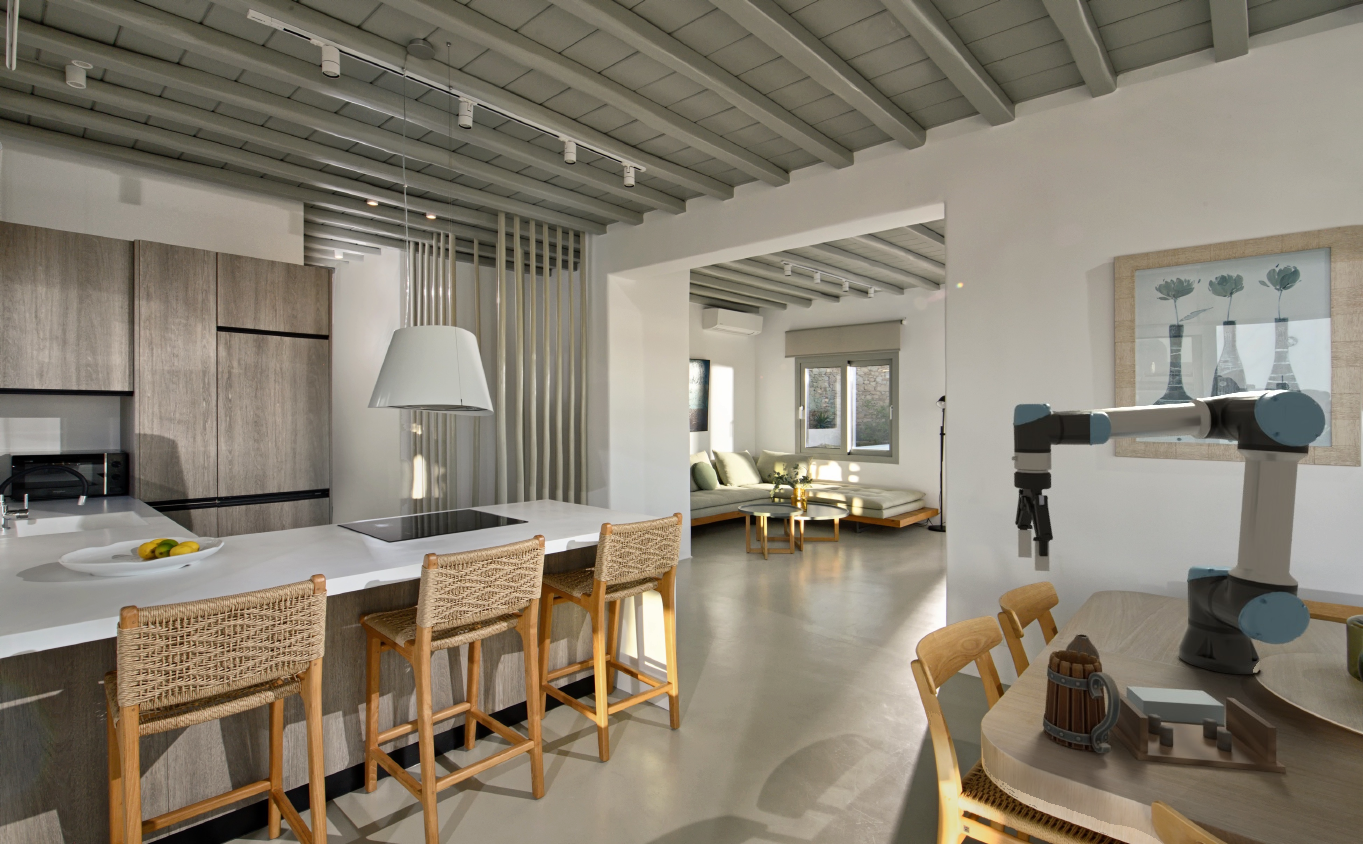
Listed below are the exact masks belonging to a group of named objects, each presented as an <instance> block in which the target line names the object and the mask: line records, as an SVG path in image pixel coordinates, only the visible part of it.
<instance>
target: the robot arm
mask: <svg viewBox="0 0 1363 844" xmlns="http://www.w3.org/2000/svg"><path fill="white" fill-rule="evenodd" d="M1051 407H1052V406H1051V405H1050V404H1049V403H1020V404H1017V405H1015V407H1014V412H1013V423H1012V426H1013V448H1014V449H1013V450H1014V453H1013V454H1014V455H1013V456H1011V460H1012V461H1013V463H1014V464H1013V465H1014V469H1015V470H1016V471H1014V472H1013V485H1014V487H1015V488H1016V489H1018V500H1017V509H1016V515H1015V521H1014V522H1015V523H1014V524H1015V526H1016V527H1017V529H1018V530H1017V541H1018V542H1017V545H1018V546H1017V547H1018V548H1017V549H1018V550H1017V553H1018V556H1017V557H1018V558H1024V559H1025V558H1028V559H1029V558H1030V559H1031V558H1032V549H1033V548H1032V541H1033V542H1034V571H1041V572H1050V541H1053V540H1054V536H1053V531H1052V530H1053V529H1052V525H1051V524H1052V523H1051V517H1050V516H1051V515H1050V512H1049V511H1050V510H1049V501H1048V500H1049V497H1048V495H1047V494H1046V495H1045V494H1044V495H1043V490H1049V489H1051V488H1052V474H1051V472H1049V471H1051V470H1052V445H1054V446H1058V445H1067V446H1070V445H1071V446H1072V445H1073V446H1076V445H1077V446H1080V445H1081V446H1082V445H1084V446H1093V445H1104V444H1106V443H1107V442H1109V440H1123V439H1124V440H1125V439H1126V440H1127V439H1140V438H1141V439H1144V438H1162V437H1163V438H1164V437H1179V436H1180V437H1181V436H1191V437H1192V438H1194V439H1197V440H1201V439H1202V440H1203V439H1204V440H1206V439H1211V440H1212V439H1214V440H1225V441H1226V440H1228V441H1234V442H1237V446H1236V447H1237V448H1236V451H1238V453H1239V454H1240V455H1242V456H1243V458H1244V461H1245V463H1244V474H1243V486H1242V487H1243V488H1242V499H1241V513H1240V525H1239V537H1238V538H1239V539H1238V549H1237V551H1238V553H1237V565H1235V566H1221V565H1219V566H1218V565H1194V566H1191V567H1189V569H1188V573H1187V579H1186V582H1187V627H1186V630H1185V632H1184V634H1183V637H1182V639H1181V642H1180V643H1179V647H1178V657H1179V658H1180V659H1181V660H1182V661H1183V662H1185V663H1187V664H1190V665H1193V666H1195V667H1198V668H1201V669H1205V670H1208V671H1213V672H1217V673H1225V674H1231V675H1254V674H1253V669H1254V667H1255V666H1256V664H1257V663H1258V662H1259V661H1260V662H1261V660H1260V656H1259V654H1258V652H1257V649H1256V647H1255V644H1254V641H1253V640H1255V641H1260V642H1262V643H1265V644H1269V645H1284V644H1289V643H1291V642H1293V641H1294V640H1296V639H1298V638H1300V637H1302V636H1303V634H1304V633H1305V632H1306V630H1307V629H1308V627H1309V624H1310V621H1311V614H1310V611H1309V608H1308V606H1307V605H1306V604H1305V603H1304V601H1303V600H1302V599H1301V598H1300V597H1298V590H1299V581H1297V579H1296V578H1294V577H1293V576H1292V574H1290V570H1291V558H1292V557H1291V556H1292V541H1293V533H1294V532H1293V531H1294V530H1293V529H1294V519H1295V518H1294V516H1295V504H1296V491H1297V490H1296V489H1297V479H1298V468H1299V467H1298V464H1299V462H1300V461H1301V460H1303V459H1305V458H1306V457H1308V456H1309V450H1310V449H1309V447H1310V444H1311V443H1314V442H1315V441H1316V440H1317V438H1318V437H1321V435H1322V434H1323V432H1324V430H1325V427H1326V416H1325V412H1324V410H1323V408H1322V407H1321V405H1320V404H1319V403H1318V402H1317V401H1316V400H1315V399H1313V397H1311V396H1310V395H1308V394H1306V393H1303V392H1300V391H1295V390H1285V389H1272V390H1259V391H1258V390H1257V391H1241V392H1236V393H1230V394H1223V395H1219V396H1217V395H1216V396H1212V397H1202V398H1193V399H1191V400H1190V401H1188V403H1175V404H1160V405H1146V406H1143V405H1142V406H1125V407H1112V408H1111V407H1110V408H1098V409H1097V408H1096V409H1081V410H1079V409H1078V410H1062V411H1055V410H1053V411H1052V409H1051ZM1032 530H1034V534H1035V536H1033V538H1032Z"/></svg>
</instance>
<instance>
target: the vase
mask: <svg viewBox="0 0 1363 844" xmlns="http://www.w3.org/2000/svg"><path fill="white" fill-rule="evenodd" d="M1065 650H1066V652H1067V653H1068V651H1070V650H1071V651H1077V652H1078V654H1080V653H1081V652H1082V653H1086V654H1088V655H1089V657H1090V656H1094V657H1096V658H1097V659H1098V660H1100V661H1101V658H1100V654H1099V651H1098V649H1097V648H1096V646H1095V645H1094V644H1093V643H1092V640H1090V638H1089V636H1088V635H1087V634H1084V633H1083V634H1082V633H1079V634H1076V635H1075V637H1074V638H1073V639H1072V640H1071V641H1070V642H1069V643H1068V644H1067V646H1066V648H1065Z"/></svg>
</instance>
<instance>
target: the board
mask: <svg viewBox="0 0 1363 844" xmlns="http://www.w3.org/2000/svg"><path fill="white" fill-rule="evenodd" d="M1126 698H1127V699H1128V700H1130V701H1131V702H1132V703H1133V704H1134V705H1135V706H1136V707H1137V708H1138V709H1139V710H1140V711H1141V712H1142V713H1143V714H1144V715H1145V716H1146V717H1148V714H1155V715H1158V716H1160V717H1161V721H1165V722H1166V721H1167V722H1182V723H1195V724H1197V723H1198V724H1203V719H1204V718H1209V719H1213V720H1215V721H1217V725H1225V705H1224V704H1222V703H1221V702H1220V701H1219V700H1217V699H1215V698H1214V697H1213V696H1211V695H1210V694H1208V693H1207V692H1205V691H1204V690H1197V689H1196V690H1194V689H1181V688H1177V689H1176V688H1163V687H1162V688H1161V687H1146V686H1130V685H1129V686H1128V685H1126Z"/></svg>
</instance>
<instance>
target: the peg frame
mask: <svg viewBox="0 0 1363 844" xmlns="http://www.w3.org/2000/svg"><path fill="white" fill-rule="evenodd" d="M1118 691H1119V695H1120V712H1119V717H1118V720H1117V722H1116V724H1115V725H1114V726H1113V727H1112V728H1111V729H1110V731H1111V732H1112V733H1113V734H1114V735H1115V736H1116V737H1117V739H1118V740H1120V742H1121V743H1122V744H1123V745H1124V746H1125V747H1126V748H1127V750H1128V751H1130V753H1131V754H1132V755H1133V756H1134V757H1135V759H1137V760H1138V761H1147V762H1149V761H1150V762H1159V763H1171V764H1180V765H1181V764H1183V765H1194V766H1205V767H1216V768H1225V769H1226V768H1227V769H1238V770H1248V771H1249V770H1251V771H1260V772H1261V771H1262V772H1269V773H1270V772H1271V773H1281V774H1283V773H1284V774H1286V773H1287V767H1286V766H1285V765H1284V764H1283V763H1281V762H1280V761H1279V760H1278V759H1277V727H1276V726H1275V725H1273V724H1271V723H1270V722H1269V721H1267V720H1266V719H1264V718H1263V717H1261V716H1260V715H1259V714H1257V713H1255V712H1254V710H1253V711H1252V710H1251V709H1250V708H1249V707H1247V706H1245V705H1244V704H1242V703H1241V702H1239V700H1237V699H1236V698H1234V697H1226V698H1225V726H1218V724H1217V721H1215V720H1213V719H1209V718H1204V719H1203V723H1202V724H1201V725H1200V724H1189V723H1177V722H1175V723H1174V722H1166V721H1165V722H1163V721H1162V720H1161V717H1160V716H1158V715H1155V714H1148V717H1146V716H1145V715H1144V714H1143V713H1142V712H1141V711H1140V710H1139V709H1138V708H1137V707H1136V706H1135V705H1134V704H1133V703H1132V702H1131V701H1130V700H1128V699H1127V696H1125V694H1123V693H1122V692H1121V691H1120V690H1119V689H1118Z"/></svg>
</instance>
